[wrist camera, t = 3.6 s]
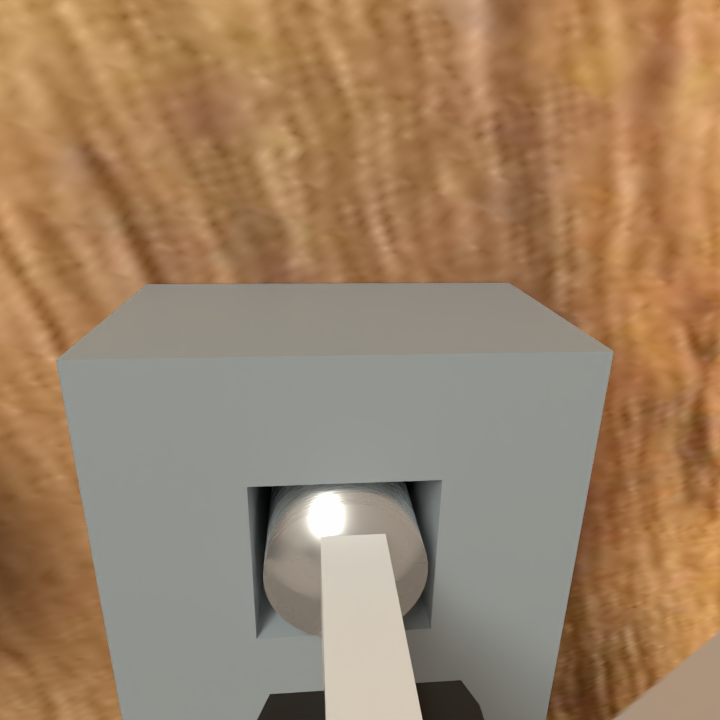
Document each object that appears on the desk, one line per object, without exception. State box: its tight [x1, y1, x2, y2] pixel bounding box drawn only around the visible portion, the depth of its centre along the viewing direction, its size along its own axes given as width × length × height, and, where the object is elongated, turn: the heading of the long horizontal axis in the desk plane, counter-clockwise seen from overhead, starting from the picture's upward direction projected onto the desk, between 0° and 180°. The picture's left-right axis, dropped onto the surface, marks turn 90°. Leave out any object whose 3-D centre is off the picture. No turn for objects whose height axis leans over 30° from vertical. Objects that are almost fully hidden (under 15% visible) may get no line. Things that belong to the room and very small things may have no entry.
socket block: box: [56, 283, 614, 720], centre depth 19 cm, size 12×22×7 cm, turn 179°
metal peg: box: [263, 481, 428, 637], centre depth 17 cm, size 4×4×7 cm
